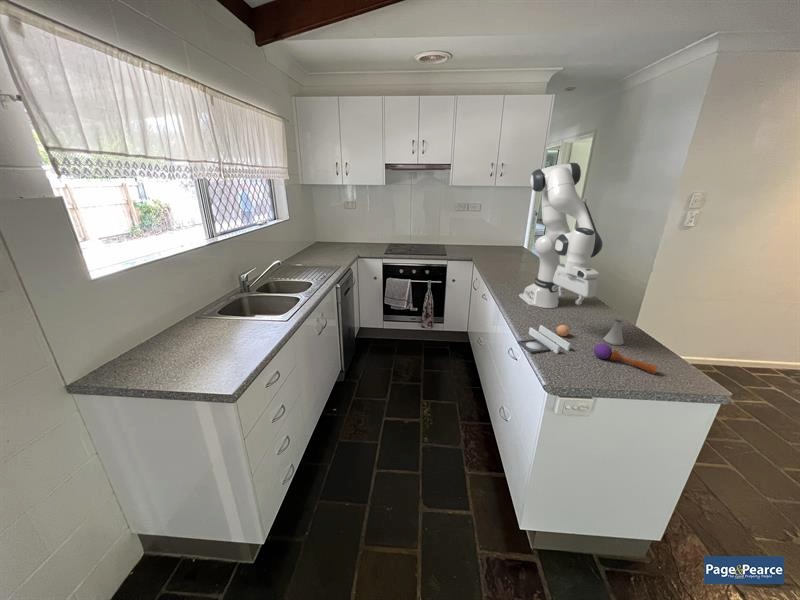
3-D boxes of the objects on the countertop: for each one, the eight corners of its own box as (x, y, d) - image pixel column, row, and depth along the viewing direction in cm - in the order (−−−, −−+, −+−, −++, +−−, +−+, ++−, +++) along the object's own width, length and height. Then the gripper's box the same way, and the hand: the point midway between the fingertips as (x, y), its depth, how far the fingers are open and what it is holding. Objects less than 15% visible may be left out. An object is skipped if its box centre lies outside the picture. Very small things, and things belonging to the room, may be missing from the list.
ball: (553, 333, 145) (555, 323, 143) (562, 332, 146) (564, 322, 145) (560, 338, 141) (563, 328, 139) (570, 337, 142) (572, 327, 140)
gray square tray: (517, 342, 136) (517, 340, 136) (535, 340, 139) (536, 338, 138) (531, 353, 128) (531, 351, 128) (550, 351, 130) (550, 348, 130)
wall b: (528, 333, 145) (529, 327, 144) (530, 333, 145) (531, 327, 144) (556, 353, 128) (558, 347, 127) (558, 353, 129) (559, 346, 128)
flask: (613, 346, 135) (620, 325, 131) (599, 338, 142) (605, 318, 138) (627, 344, 137) (633, 323, 133) (612, 337, 143) (618, 316, 140)
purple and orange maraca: (657, 369, 113) (594, 346, 124) (651, 381, 116) (590, 357, 127) (660, 359, 117) (598, 338, 128) (653, 371, 120) (594, 349, 131)
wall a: (538, 331, 147) (539, 325, 146) (540, 331, 147) (541, 325, 146) (567, 350, 131) (569, 344, 130) (569, 350, 131) (570, 344, 130)
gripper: (552, 262, 141) (546, 292, 146) (589, 276, 123) (581, 309, 128) (564, 262, 143) (558, 291, 148) (602, 275, 124) (594, 308, 129)
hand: (569, 300), depth 137 cm, fingers open, 8 cm apart
